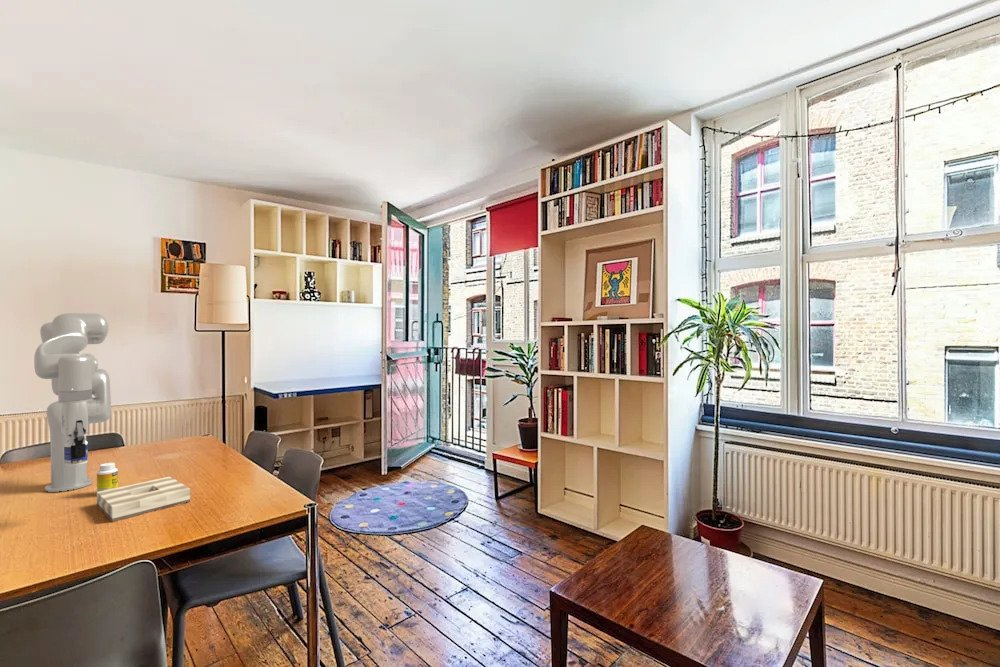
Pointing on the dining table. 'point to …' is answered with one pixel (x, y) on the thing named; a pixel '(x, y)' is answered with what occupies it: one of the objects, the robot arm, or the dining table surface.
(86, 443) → the pill bottle
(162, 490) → the socket block
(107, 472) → the supplement bottle
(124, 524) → the dining table surface
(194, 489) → the dining table surface
